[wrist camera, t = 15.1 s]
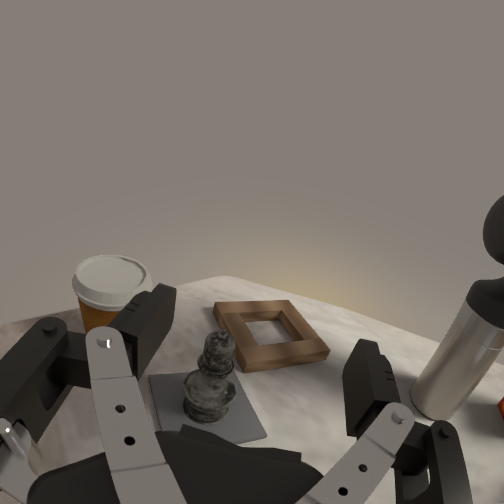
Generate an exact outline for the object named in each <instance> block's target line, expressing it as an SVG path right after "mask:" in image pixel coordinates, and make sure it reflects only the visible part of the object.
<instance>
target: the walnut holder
mask: <svg viewBox="0 0 504 504" xmlns="http://www.w3.org/2000/svg"><path fill="white" fill-rule="evenodd" d="M213 313H214V315H215V317H216V319H217V321H218V323H219V326H220V328H221V329H222V328H225V329H226V331H227V333H229V334H230V335H231V336H232V337H233V338H234V340H235V343H236V346H235V350H234V355H235V357H236V359H237V361H238V363H239V365H240V367H241V369H242V371H243V373H248V372H255V371H262V370H269V369H276V368H282V367H288V366H294V365H299V364H305V363H310V362H315V361H320V360H325V359H326V358H327V356H328V354H329V352H330V349H329V348H328V346H327V345H326V344H325V343H324V342H323V340H322V339H321V338H320V337H319V336H318V335H317V333H316V332H315V331H314V330H313V329H312V327H311V326H310V325H309V324H308V323H307V321H306V320H305V319H304V318H303V317H302V315H301V314H300V313H299V312H298V311H297V310H296V308H295V307H294V306H293V305H292V304H291V302H290V301H289V300H273V301H243V302H215V304H214V309H213ZM266 320H279V321H280V322H281V324H282V325H283V326H284V328H285V329H286V330H287V332H288V333H289V334H290V336H291V337H292V338H293V340H294V341H295V342H287V343H279V344H270V345H261V346H258V344H257V343H256V341H255V339H254V338H253V336H252V334H251V333H250V331H249V329H248V328H247V326H246V324H245V323H244V322H251V321H266Z"/></svg>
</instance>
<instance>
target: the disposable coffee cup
mask: <svg viewBox="0 0 504 504" xmlns="http://www.w3.org/2000/svg"><path fill="white" fill-rule="evenodd" d="M72 285H73V289H74V291H75V293H76V295H77V296H78V299H79V300H78V301H79V304H80V308H81V309H80V310H81V314H82V319H83V323H84V327H85V331H86V334H87V333H88V332H89V331H90V330H92V329H94V328H96V327H102V326H105V327H107V326H108V324H109V323H110V322H111V321H112V320H113V319H114V318H115V317H116V316H117V314H118V313H119V312H120V311H121V310H122V309H123V308H124V307H125V306H126V305H127V303H129V301H130V300H131V299H132V298H133V297H134V296H135V295H136V294H138V293H141V292H143V291H148V292H152V288H153V283H152V279H151V278H150V274H149V271H148V269H147V267H145V265H143V264H142V263H140V262H139V261H137V260H135V259H133V258H130V257H126V256H122V255H107V254H106V255H98V256H94V257H91V258H88V259H86V260H84V261H82V262H81V263H80V265H78V267H77V269H76V274H75V275H74V277H73V280H72Z"/></svg>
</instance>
